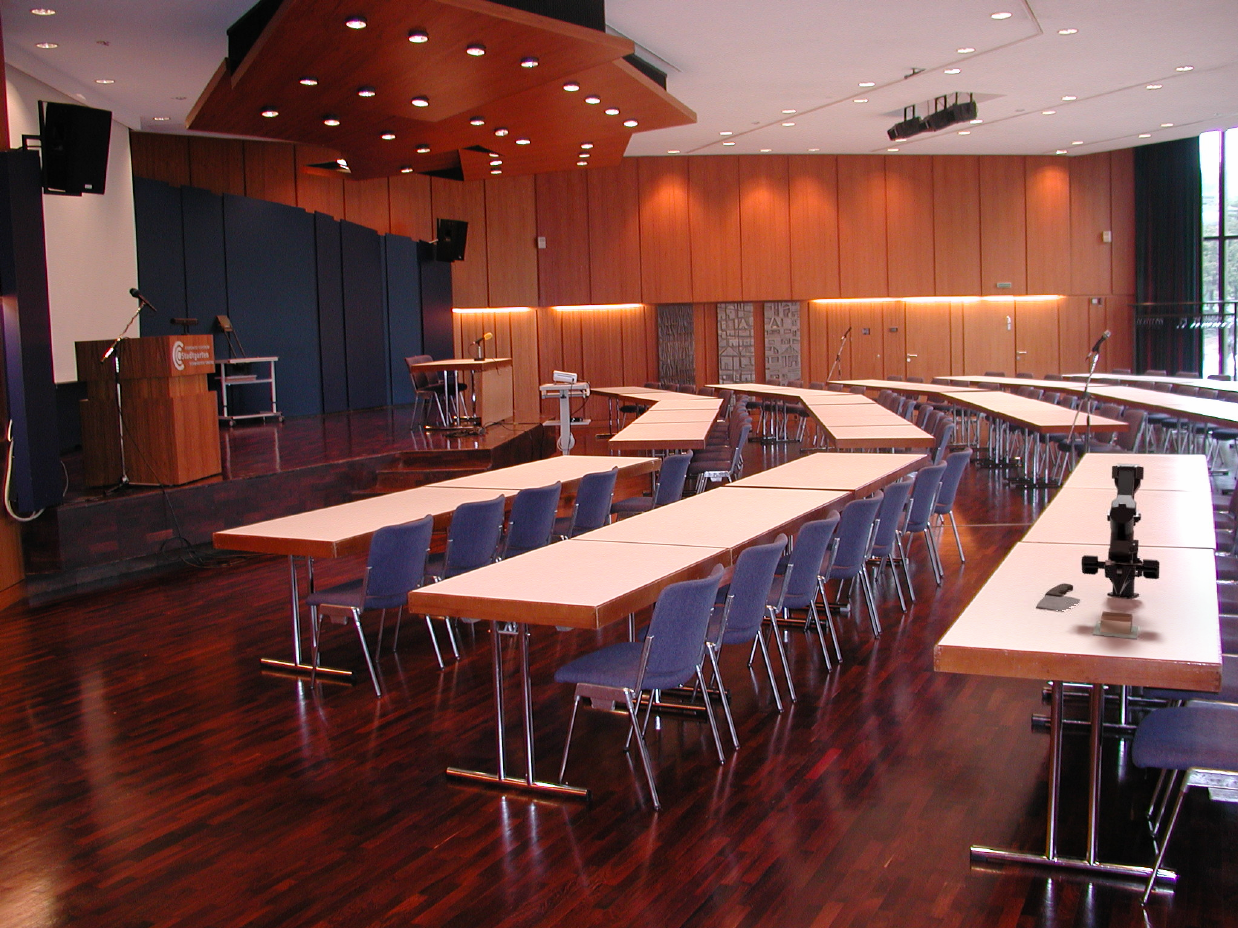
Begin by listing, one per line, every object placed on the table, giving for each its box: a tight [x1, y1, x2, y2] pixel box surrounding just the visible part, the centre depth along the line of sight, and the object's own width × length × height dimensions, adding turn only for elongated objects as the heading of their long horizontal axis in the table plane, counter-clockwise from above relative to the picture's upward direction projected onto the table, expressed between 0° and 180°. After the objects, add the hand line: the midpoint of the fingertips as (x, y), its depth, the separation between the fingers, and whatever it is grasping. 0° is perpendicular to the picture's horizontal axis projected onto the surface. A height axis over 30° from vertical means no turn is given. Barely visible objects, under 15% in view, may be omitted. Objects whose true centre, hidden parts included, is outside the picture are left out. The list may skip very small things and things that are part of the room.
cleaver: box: [1035, 582, 1081, 613], centre depth 302 cm, size 29×10×2 cm, turn 147°
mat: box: [1092, 621, 1139, 640], centre depth 268 cm, size 12×10×1 cm
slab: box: [1099, 610, 1133, 634], centre depth 270 cm, size 3×7×10 cm
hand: (1118, 593), depth 274 cm, fingers closed
